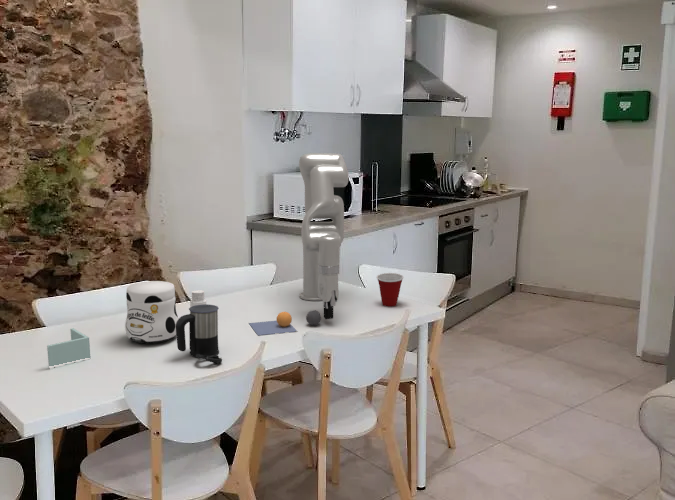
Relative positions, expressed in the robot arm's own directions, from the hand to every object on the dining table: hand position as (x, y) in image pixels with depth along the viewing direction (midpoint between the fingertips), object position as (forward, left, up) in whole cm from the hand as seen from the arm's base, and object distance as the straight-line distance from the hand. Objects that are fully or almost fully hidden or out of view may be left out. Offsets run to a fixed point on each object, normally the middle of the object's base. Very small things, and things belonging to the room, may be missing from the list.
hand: (328, 318), depth 238 cm
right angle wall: (+10, -89, -2) cm, 90 cm away
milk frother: (+22, -48, -2) cm, 53 cm away
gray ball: (+2, -6, +1) cm, 7 cm away
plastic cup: (-14, +31, -2) cm, 34 cm away
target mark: (0, -21, -2) cm, 21 cm away
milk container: (-1, -62, -2) cm, 62 cm away
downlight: (-20, -44, -2) cm, 48 cm away
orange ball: (0, -17, +1) cm, 17 cm away
